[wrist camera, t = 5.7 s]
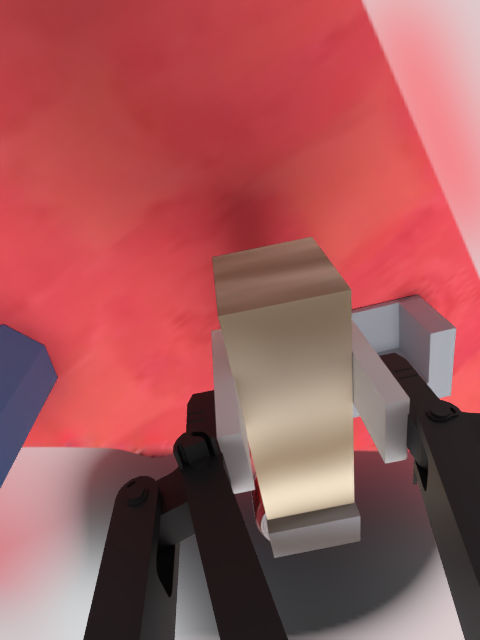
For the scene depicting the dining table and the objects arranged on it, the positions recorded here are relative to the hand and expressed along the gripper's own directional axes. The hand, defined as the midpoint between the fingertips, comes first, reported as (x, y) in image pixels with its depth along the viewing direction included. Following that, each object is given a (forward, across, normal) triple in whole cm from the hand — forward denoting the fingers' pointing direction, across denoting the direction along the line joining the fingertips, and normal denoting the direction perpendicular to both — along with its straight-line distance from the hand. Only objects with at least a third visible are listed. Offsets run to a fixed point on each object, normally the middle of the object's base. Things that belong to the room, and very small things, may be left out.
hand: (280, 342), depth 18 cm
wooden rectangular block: (+2, 0, -3) cm, 4 cm away
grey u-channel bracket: (+15, +9, -10) cm, 20 cm away
